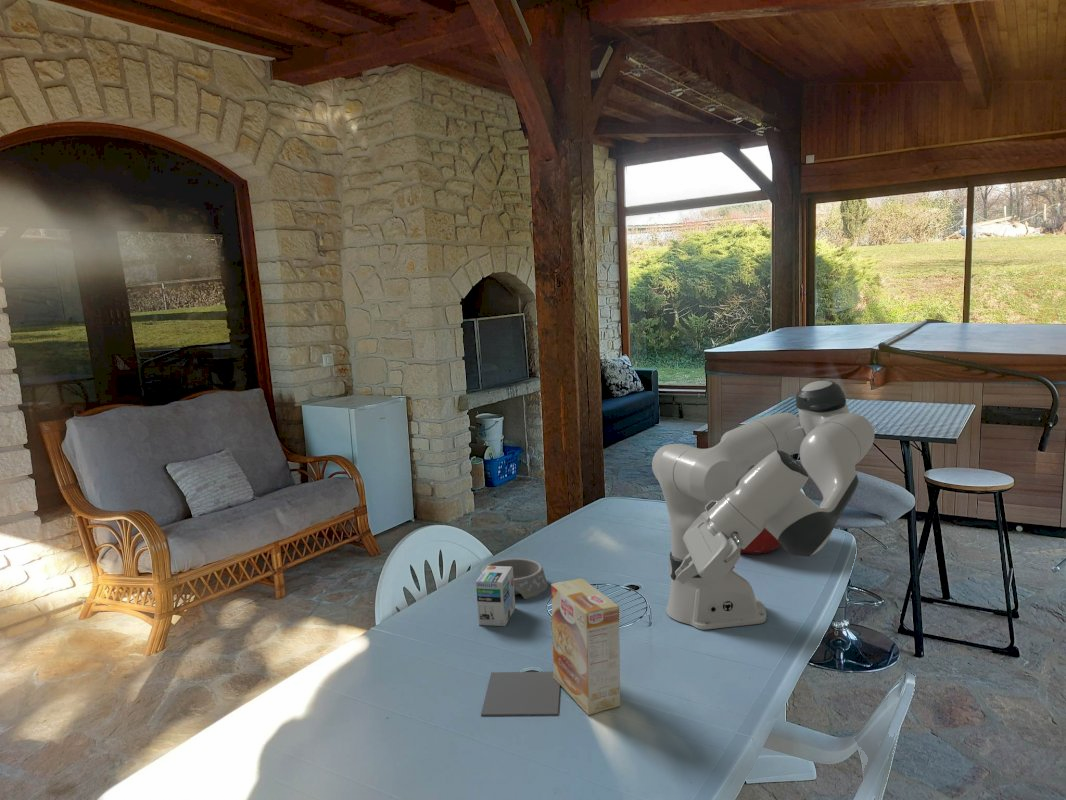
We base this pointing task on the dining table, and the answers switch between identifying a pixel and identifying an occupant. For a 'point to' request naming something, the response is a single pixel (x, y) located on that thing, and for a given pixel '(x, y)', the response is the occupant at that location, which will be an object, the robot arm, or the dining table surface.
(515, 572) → the dog bowl
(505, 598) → the light bulb box
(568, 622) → the coffeecake box
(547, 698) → the mat
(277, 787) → the dining table surface
